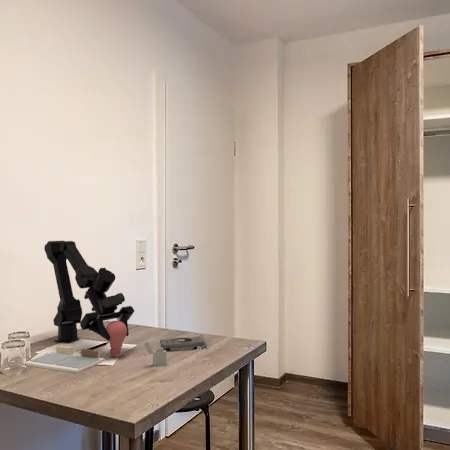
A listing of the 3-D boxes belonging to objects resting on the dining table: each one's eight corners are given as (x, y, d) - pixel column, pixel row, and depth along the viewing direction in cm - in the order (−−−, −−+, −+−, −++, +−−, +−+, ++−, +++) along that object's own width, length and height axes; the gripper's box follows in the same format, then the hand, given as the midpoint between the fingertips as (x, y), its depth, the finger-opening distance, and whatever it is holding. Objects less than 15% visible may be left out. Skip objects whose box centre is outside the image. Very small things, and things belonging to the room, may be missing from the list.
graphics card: (202, 332, 172) (209, 339, 161) (203, 342, 172) (210, 350, 161) (158, 335, 168) (162, 343, 156) (158, 346, 168) (162, 354, 156)
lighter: (165, 363, 144) (165, 338, 144) (166, 365, 143) (166, 339, 143) (143, 365, 143) (143, 340, 142) (143, 367, 141) (143, 341, 141)
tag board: (24, 365, 143) (24, 354, 143) (54, 353, 155) (54, 344, 155) (76, 373, 135) (76, 362, 135) (104, 360, 147) (104, 351, 147)
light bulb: (129, 353, 155) (129, 318, 155) (123, 360, 148) (122, 323, 148) (109, 353, 156) (109, 318, 156) (102, 359, 149) (101, 323, 149)
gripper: (84, 289, 147) (104, 328, 140) (131, 283, 161) (151, 318, 154) (71, 310, 153) (90, 348, 145) (118, 302, 167) (137, 337, 160)
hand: (118, 337), depth 151 cm, fingers open, 7 cm apart
